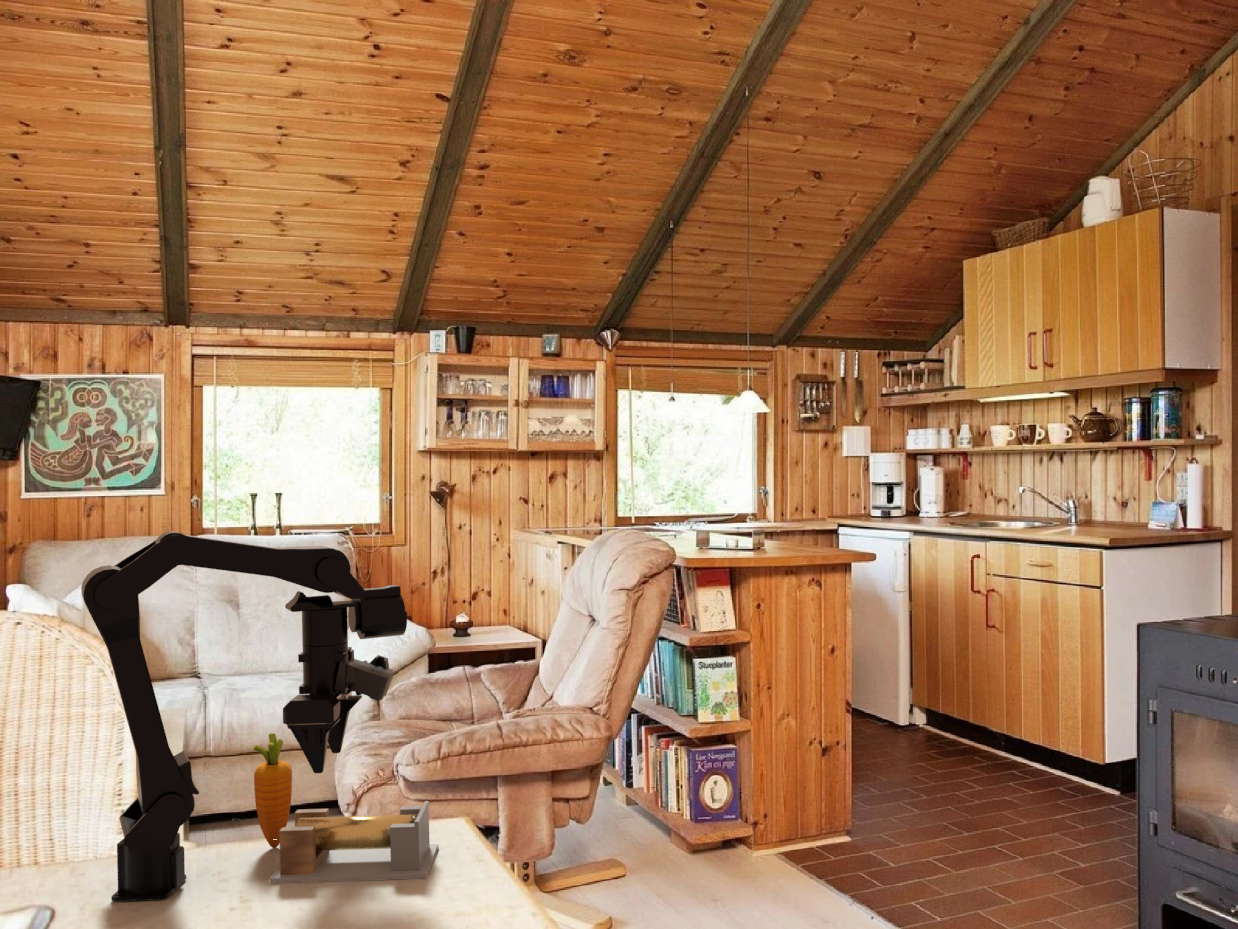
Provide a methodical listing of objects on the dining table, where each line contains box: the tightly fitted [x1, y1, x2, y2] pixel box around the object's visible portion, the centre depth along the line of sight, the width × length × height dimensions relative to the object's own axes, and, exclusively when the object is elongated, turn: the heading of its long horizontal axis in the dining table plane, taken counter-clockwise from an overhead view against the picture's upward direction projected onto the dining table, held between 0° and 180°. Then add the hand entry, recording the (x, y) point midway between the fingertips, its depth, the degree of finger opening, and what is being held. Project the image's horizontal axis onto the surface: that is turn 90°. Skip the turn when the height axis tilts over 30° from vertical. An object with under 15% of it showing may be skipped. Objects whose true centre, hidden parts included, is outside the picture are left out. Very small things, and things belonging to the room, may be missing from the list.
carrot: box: [253, 732, 293, 849], centre depth 139 cm, size 5×5×15 cm
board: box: [269, 843, 439, 884], centre depth 132 cm, size 19×10×1 cm, turn 92°
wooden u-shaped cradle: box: [279, 808, 330, 875], centre depth 132 cm, size 4×8×5 cm, turn 2°
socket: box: [390, 800, 430, 871], centre depth 132 cm, size 4×8×6 cm, turn 1°
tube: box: [296, 814, 418, 851], centre depth 132 cm, size 15×4×4 cm, turn 92°
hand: (327, 762), depth 136 cm, fingers open, 9 cm apart
